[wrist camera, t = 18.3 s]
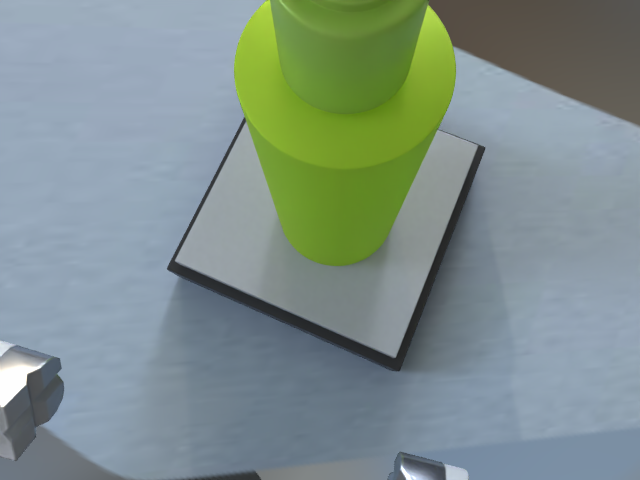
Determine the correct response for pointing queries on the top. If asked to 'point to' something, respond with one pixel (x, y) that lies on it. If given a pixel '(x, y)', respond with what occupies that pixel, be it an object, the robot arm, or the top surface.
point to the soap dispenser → (342, 114)
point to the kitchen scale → (323, 280)
